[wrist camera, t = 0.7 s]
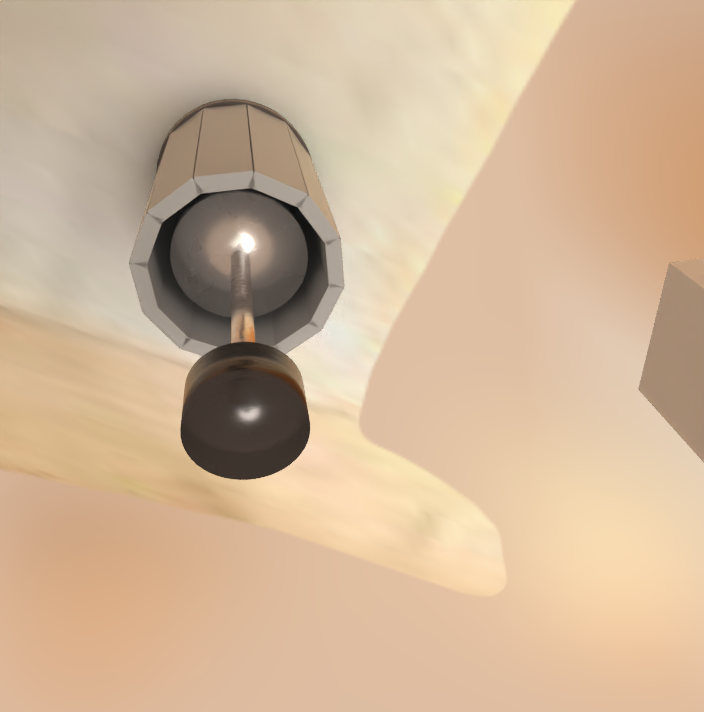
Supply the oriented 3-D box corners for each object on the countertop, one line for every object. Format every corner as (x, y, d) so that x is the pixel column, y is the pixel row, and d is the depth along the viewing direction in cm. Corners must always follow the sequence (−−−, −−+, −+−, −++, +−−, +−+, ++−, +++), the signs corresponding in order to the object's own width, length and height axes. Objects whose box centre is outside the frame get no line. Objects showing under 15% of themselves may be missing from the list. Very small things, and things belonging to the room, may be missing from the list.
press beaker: (140, 107, 41) (102, 182, 29) (306, 91, 43) (339, 157, 30) (183, 290, 49) (167, 414, 36) (322, 273, 50) (355, 387, 37)
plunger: (157, 196, 32) (111, 360, 20) (299, 180, 33) (342, 329, 20) (186, 319, 36) (163, 521, 24) (312, 302, 37) (355, 490, 24)
